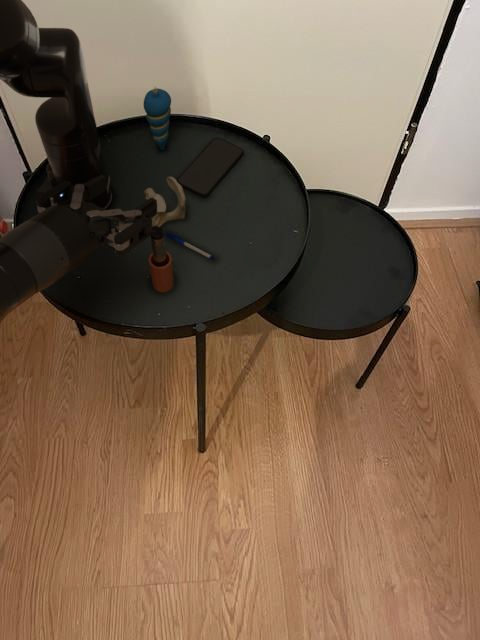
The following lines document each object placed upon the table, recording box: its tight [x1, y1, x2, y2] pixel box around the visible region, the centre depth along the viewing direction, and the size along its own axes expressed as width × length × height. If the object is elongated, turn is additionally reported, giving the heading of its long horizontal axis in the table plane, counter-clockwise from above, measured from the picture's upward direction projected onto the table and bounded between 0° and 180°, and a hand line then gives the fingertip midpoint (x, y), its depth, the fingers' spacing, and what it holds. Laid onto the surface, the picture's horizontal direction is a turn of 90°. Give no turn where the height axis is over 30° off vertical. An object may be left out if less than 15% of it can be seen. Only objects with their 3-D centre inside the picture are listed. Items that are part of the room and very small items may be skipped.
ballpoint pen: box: [165, 232, 216, 261], centre depth 101 cm, size 10×1×1 cm, turn 60°
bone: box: [143, 176, 187, 228], centre depth 101 cm, size 9×6×10 cm
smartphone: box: [176, 137, 245, 198], centre depth 111 cm, size 7×1×15 cm
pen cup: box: [148, 250, 175, 293], centre depth 94 cm, size 4×4×7 cm
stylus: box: [150, 226, 167, 267], centre depth 90 cm, size 2×2×14 cm
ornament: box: [143, 87, 172, 151], centre depth 107 cm, size 5×5×15 cm
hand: (129, 192), depth 76 cm, fingers open, 8 cm apart
